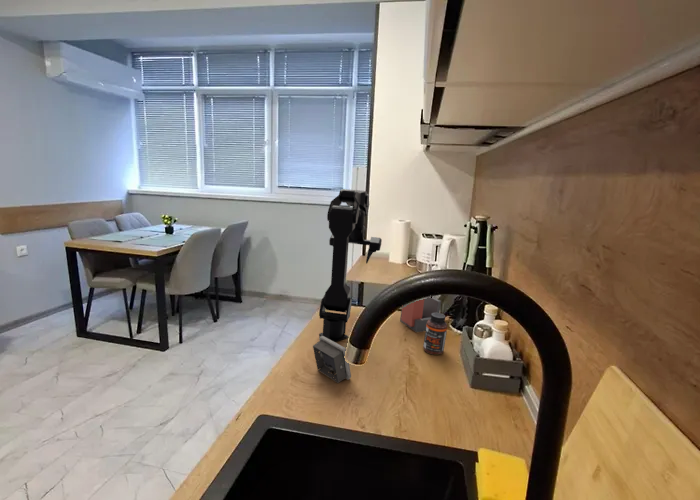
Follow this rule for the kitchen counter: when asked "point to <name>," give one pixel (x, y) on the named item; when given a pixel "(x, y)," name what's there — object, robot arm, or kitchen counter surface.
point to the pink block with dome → (412, 312)
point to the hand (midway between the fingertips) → (354, 261)
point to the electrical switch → (331, 359)
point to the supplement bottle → (435, 334)
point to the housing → (425, 314)
